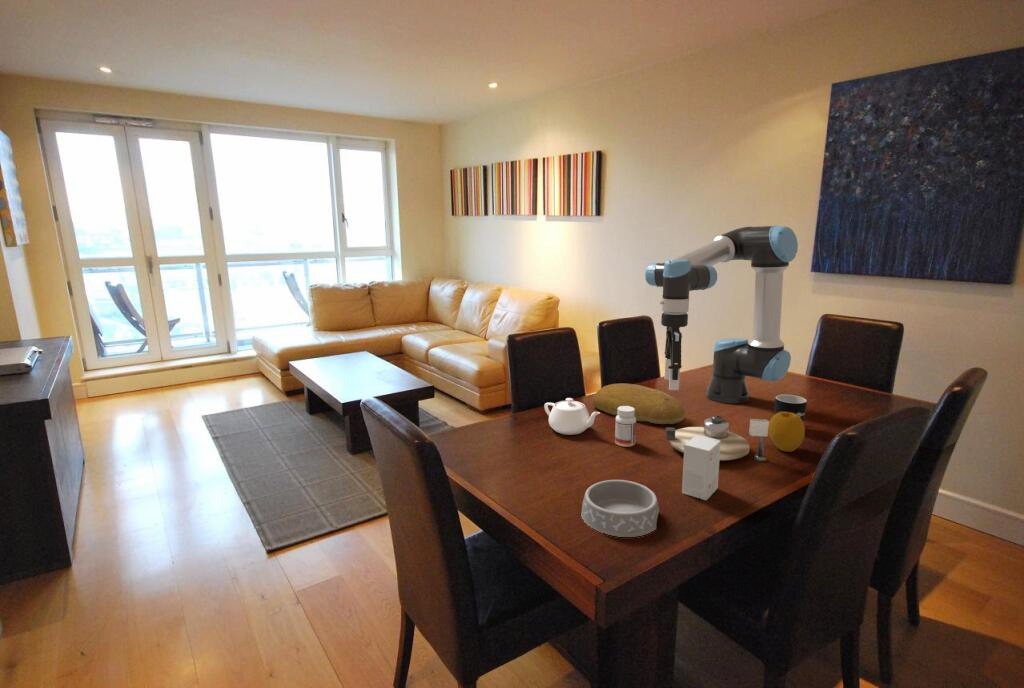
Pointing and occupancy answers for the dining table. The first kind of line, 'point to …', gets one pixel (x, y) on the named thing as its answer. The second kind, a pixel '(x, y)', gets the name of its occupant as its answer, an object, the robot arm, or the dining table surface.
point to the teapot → (569, 417)
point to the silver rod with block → (759, 429)
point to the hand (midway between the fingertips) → (671, 384)
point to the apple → (786, 431)
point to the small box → (701, 467)
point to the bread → (640, 403)
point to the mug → (791, 405)
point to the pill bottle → (625, 426)
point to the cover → (716, 427)
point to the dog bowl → (620, 508)
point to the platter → (729, 446)
